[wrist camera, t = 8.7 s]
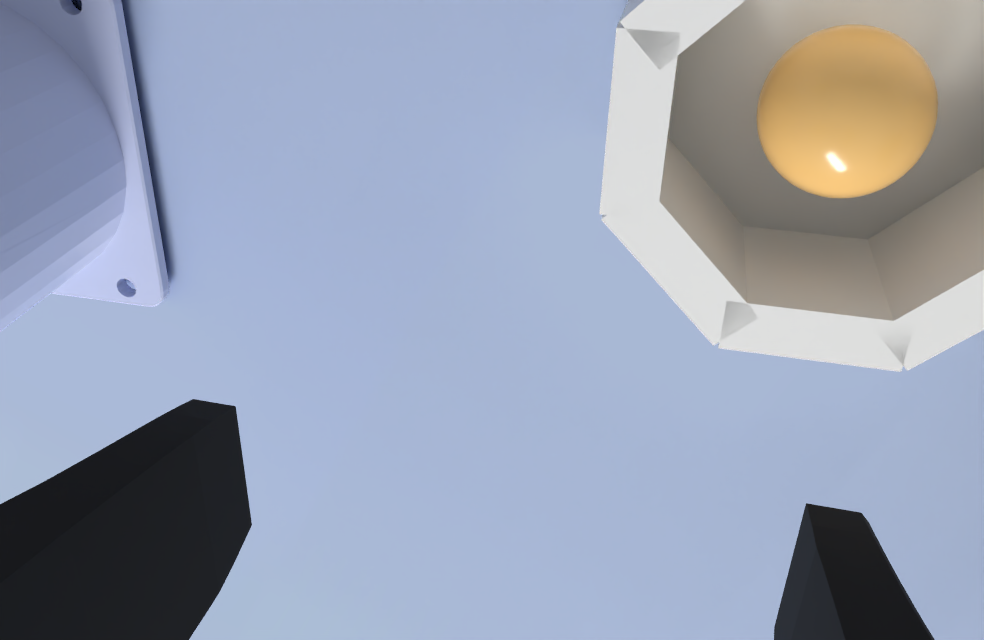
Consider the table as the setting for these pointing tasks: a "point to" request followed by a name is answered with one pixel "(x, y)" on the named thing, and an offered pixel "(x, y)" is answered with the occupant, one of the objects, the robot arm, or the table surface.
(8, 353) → the table surface
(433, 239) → the table surface
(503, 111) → the table surface
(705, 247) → the bowl
